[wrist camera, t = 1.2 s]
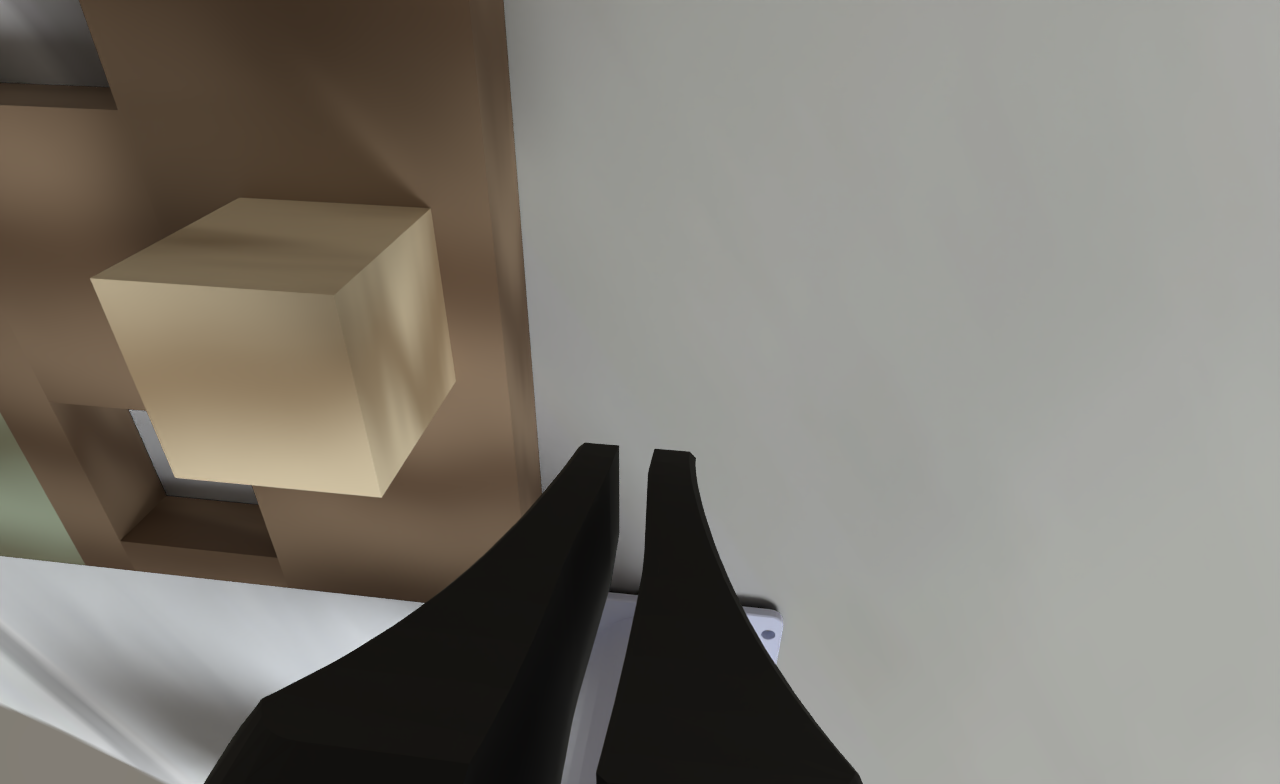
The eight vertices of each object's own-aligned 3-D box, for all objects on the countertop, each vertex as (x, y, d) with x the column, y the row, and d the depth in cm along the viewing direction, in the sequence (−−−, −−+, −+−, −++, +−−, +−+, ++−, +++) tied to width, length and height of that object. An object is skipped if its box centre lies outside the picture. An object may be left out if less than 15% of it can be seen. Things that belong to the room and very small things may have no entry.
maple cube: (455, 381, 21) (381, 497, 16) (288, 368, 21) (174, 477, 17) (430, 208, 18) (334, 295, 14) (239, 197, 18) (90, 278, 14)
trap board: (547, 562, 28) (530, 614, 26) (-25, 503, 30) (-83, 546, 28) (480, -290, 15) (436, -325, 13) (-518, -277, 17) (-695, -305, 15)
